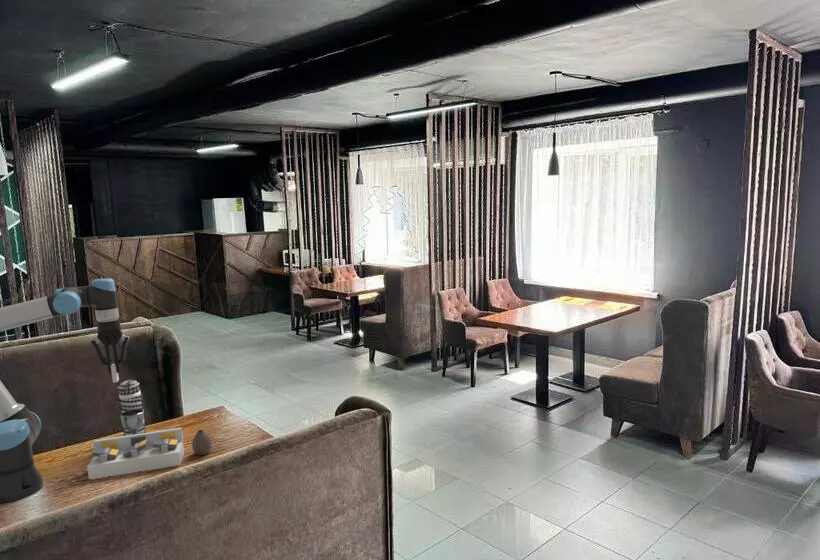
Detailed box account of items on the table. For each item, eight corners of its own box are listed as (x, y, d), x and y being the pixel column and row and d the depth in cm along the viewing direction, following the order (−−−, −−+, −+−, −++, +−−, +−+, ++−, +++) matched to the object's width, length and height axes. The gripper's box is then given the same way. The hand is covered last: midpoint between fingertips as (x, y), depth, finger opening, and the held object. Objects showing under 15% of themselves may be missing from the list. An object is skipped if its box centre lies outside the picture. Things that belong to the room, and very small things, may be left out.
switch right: (152, 448, 202) (153, 443, 202) (154, 443, 207) (155, 438, 207) (176, 449, 204) (176, 444, 204) (177, 444, 209) (178, 438, 209)
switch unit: (88, 480, 195) (85, 452, 194) (97, 466, 206) (94, 440, 205) (180, 465, 203) (177, 438, 202) (184, 452, 214) (181, 427, 212)
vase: (196, 458, 208) (194, 436, 207) (190, 453, 213) (188, 431, 212) (215, 452, 212) (212, 430, 211) (208, 447, 217) (206, 426, 216)
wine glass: (138, 453, 216) (133, 416, 214) (120, 452, 217) (115, 415, 215) (152, 444, 223) (147, 408, 221) (134, 444, 225) (130, 408, 223)
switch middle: (124, 458, 200) (122, 453, 200) (128, 452, 205) (125, 448, 204) (146, 448, 202) (144, 443, 201) (149, 442, 206) (146, 438, 206)
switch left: (91, 456, 197) (92, 451, 197) (94, 450, 202) (96, 445, 202) (115, 460, 199) (116, 454, 199) (118, 454, 204) (120, 449, 204)
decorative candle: (131, 447, 222) (124, 386, 219) (118, 443, 227) (110, 383, 224) (152, 438, 230) (145, 379, 227) (139, 434, 235) (132, 377, 231)
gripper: (85, 323, 203) (94, 386, 206) (124, 319, 206) (132, 381, 209) (91, 320, 210) (99, 380, 213) (129, 316, 213) (136, 376, 216)
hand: (115, 381), depth 211 cm, fingers closed
